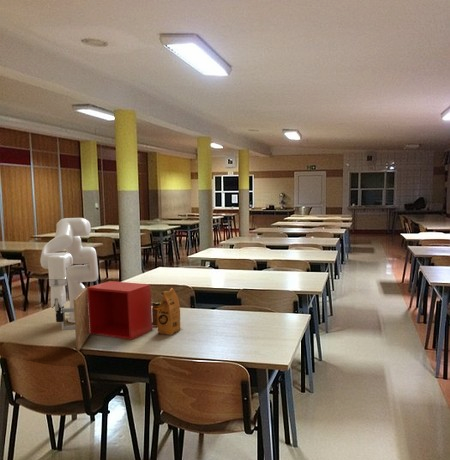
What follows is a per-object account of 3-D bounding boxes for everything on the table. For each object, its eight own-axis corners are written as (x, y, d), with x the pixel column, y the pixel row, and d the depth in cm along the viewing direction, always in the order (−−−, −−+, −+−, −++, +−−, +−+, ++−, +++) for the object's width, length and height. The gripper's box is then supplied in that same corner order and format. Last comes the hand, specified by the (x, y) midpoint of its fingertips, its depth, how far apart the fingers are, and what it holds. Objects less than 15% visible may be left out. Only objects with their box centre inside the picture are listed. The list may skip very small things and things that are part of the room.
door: (61, 351, 224) (58, 300, 221) (74, 334, 250) (71, 288, 247) (78, 350, 225) (75, 299, 221) (89, 333, 251) (87, 287, 248)
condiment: (166, 324, 266) (165, 302, 264) (152, 327, 261) (151, 305, 259) (160, 321, 272) (159, 300, 270) (146, 324, 267) (145, 302, 266)
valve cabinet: (131, 339, 240) (129, 291, 236) (89, 333, 251) (87, 287, 248) (152, 329, 256) (150, 284, 252) (112, 324, 267) (110, 280, 264)
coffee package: (154, 333, 249) (152, 291, 246) (167, 327, 260) (165, 286, 257) (171, 335, 245) (169, 293, 242) (183, 329, 256) (182, 288, 253)
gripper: (53, 279, 230) (56, 317, 233) (44, 285, 215) (47, 326, 217) (70, 278, 231) (72, 316, 233) (62, 285, 215) (65, 325, 218)
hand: (60, 320), depth 225 cm, fingers closed on door
